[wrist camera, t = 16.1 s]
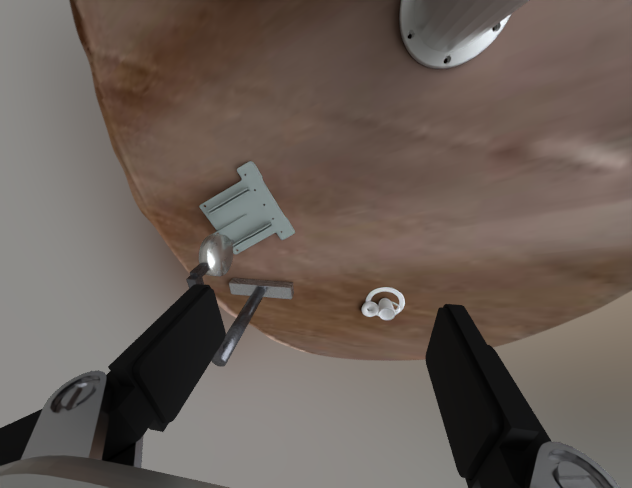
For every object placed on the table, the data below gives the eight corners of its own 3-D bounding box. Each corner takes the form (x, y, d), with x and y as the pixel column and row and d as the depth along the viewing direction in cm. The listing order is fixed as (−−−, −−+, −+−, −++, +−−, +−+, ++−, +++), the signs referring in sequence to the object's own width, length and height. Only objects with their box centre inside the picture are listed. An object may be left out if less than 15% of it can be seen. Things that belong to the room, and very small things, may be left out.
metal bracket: (235, 268, 44) (182, 200, 39) (241, 257, 49) (196, 195, 44) (300, 232, 43) (255, 156, 38) (299, 224, 48) (259, 157, 43)
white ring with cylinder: (360, 312, 51) (360, 326, 48) (363, 284, 48) (363, 296, 44) (401, 316, 50) (404, 331, 46) (407, 287, 46) (411, 300, 43)
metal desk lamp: (216, 207, 45) (131, 255, 28) (286, 208, 42) (239, 261, 26) (235, 288, 53) (179, 362, 37) (293, 293, 51) (263, 374, 34)
